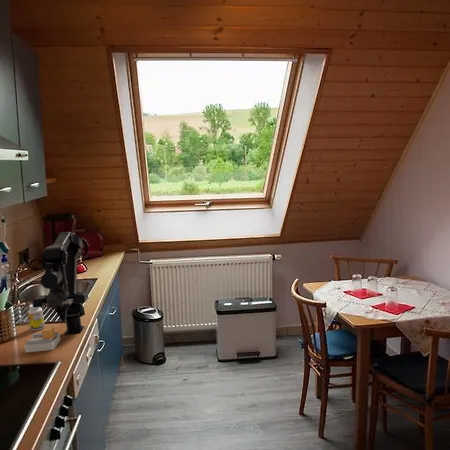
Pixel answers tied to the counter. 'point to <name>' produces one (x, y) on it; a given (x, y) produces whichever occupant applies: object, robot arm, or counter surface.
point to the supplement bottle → (36, 318)
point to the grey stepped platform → (41, 343)
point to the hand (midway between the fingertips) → (63, 321)
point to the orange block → (48, 333)
